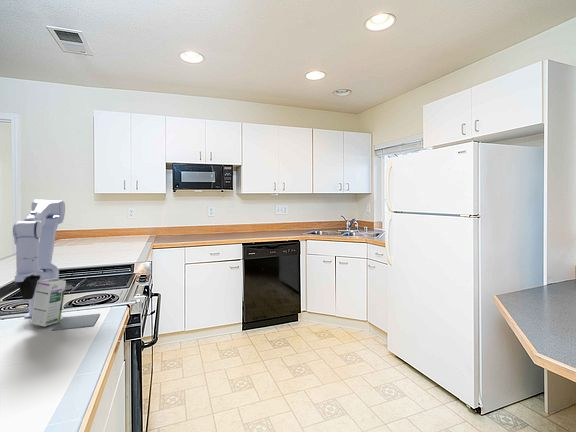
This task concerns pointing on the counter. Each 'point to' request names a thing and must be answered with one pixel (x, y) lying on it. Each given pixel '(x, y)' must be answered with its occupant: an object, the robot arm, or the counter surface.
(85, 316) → the mat
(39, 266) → the robot arm
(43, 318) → the syrup box
